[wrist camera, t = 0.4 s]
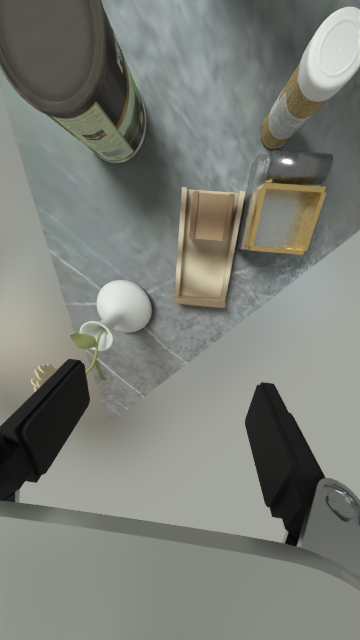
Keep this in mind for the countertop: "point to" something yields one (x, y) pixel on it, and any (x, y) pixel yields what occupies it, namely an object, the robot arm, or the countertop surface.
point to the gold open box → (283, 201)
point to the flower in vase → (107, 323)
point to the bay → (204, 258)
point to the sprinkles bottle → (316, 76)
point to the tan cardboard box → (211, 216)
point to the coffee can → (73, 72)
